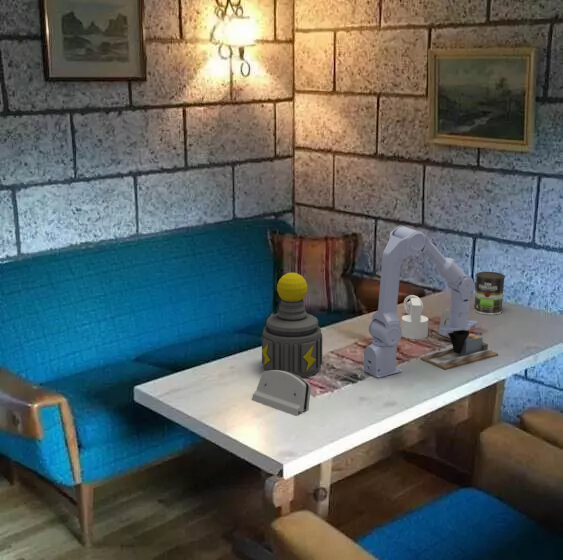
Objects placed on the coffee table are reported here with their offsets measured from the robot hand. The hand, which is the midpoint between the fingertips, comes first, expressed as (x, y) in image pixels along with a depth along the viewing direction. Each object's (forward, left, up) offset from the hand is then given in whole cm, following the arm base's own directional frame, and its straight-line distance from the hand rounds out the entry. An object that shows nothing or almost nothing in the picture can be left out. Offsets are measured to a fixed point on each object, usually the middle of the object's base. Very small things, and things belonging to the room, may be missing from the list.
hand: (457, 352), depth 247 cm
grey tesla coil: (-48, +21, -2) cm, 53 cm away
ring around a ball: (+19, +41, -2) cm, 45 cm away
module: (+5, 0, -1) cm, 5 cm away
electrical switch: (+14, +16, -2) cm, 21 cm away
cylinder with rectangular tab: (+4, +24, -2) cm, 24 cm away
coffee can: (+46, +30, -2) cm, 55 cm away
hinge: (-65, 0, -2) cm, 65 cm away
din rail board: (+1, 0, -2) cm, 2 cm away
